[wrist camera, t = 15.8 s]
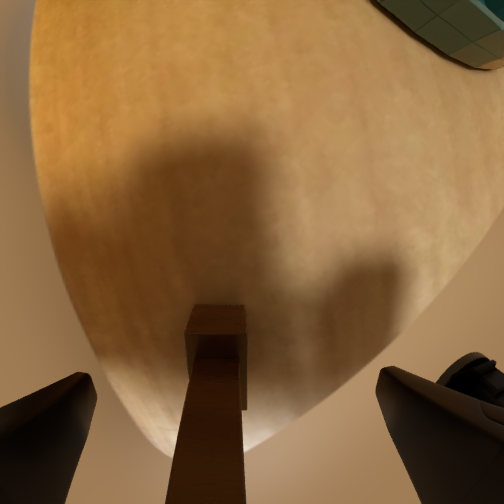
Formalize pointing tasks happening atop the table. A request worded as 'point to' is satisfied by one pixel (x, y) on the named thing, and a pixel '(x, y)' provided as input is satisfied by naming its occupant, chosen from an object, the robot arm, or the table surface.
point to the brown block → (212, 410)
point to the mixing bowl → (457, 27)
